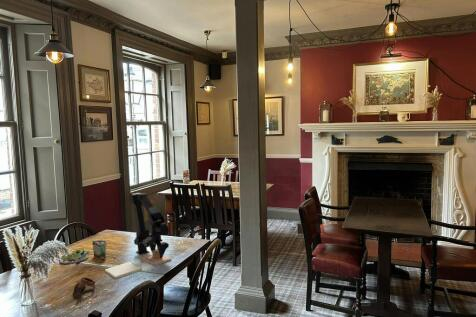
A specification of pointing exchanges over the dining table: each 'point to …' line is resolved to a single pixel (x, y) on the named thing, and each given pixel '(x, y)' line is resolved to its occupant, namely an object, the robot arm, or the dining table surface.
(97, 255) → the food container
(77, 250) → the salad plate
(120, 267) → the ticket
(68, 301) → the dining table surface
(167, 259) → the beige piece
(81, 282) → the pottery mug
